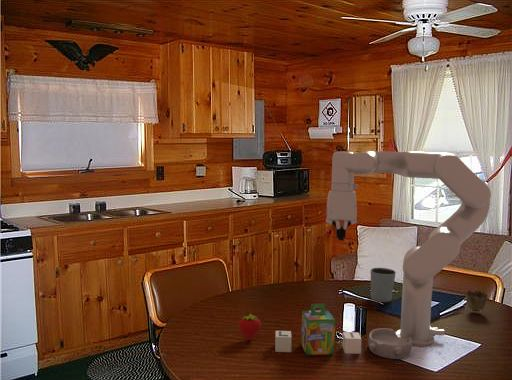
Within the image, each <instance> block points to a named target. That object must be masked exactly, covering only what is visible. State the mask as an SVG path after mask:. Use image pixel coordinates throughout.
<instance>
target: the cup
mask: <svg viewBox="0 0 512 380" xmlns="http://www.w3.org/2000/svg"><path fill="white" fill-rule="evenodd" d="M487 298H488V294H487V292H486V293H484V292H482V291H480V290H478V291H477V290H475V291H473V292H472V290H467V291H466V302H467V306H468V307H469V309H470V313H472V314H474V315H480V314H481V312H482V310H484V308H485V306H486V305H487Z"/></svg>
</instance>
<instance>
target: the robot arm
mask: <svg viewBox="0 0 512 380" xmlns="http://www.w3.org/2000/svg"><path fill="white" fill-rule="evenodd" d="M331 158H332V161H331V162H332V163H331V164H332V165H331V167H332V168H331V190H328V193H327V200H326V209H325V210H326V211H325V213H326V219H325V222H326V223H327V224H330V225H333V226H334V227H335V228H336V229H335V231H336V233H335V237H336V238H337V240H338V241H344V239H345V238H346V232H347V231H346V230H348V229H347V228H348V227H350V225H354V224H357V223H358V220H357V217H358V208H357V207H358V206H357V204H358V202H357V195H356V191H355V189H358V188H359V185H358V184H355V174H358V175H364V176H366V175H369V174H371V173H377V174H378V173H380V174H381V173H382V174H383V173H384V174H393V175H398V176H401V177H404V178H409V179H410V178H411V179H412V178H414V179H433V180H436V179H437V180H440V181H441V182H442V183H443V184H444V185H445V186H446V188H447V189H448V190H449V191H451V192H452V193H453V194H454V195H455V196H456V197H457V198H458V199H459V200H460V201H461V204H460V206H459V207H458V208H457V209H456V210H455V212H454V213H453V214H451V216H450V217H448V218H447V219H446V220H445V221H443V222H442V223H441V224H440V225H438V226H437V227H436V228H435V229H433V230H432V231H431V232H430V234H429V236H428V239H427V240H426V241H425V242H424V243H423V244H421V245H420V246H413V247H412V248H409V249H408V250H407V251H406V253H405V254H404V257H403V263H402V271H403V273H402V274H403V276H402V291H401V311H400V329H398V330H397V331H395V333H396V335H397V336H398V337H399V338H400V339H401V340H403V341H405V340H407V339H408V338H409V337H410V338H411V339H412V346H415V347H416V346H418V347H424V346H430V345H432V344H433V343H434V342H435V336H445V330H444V329H439V328H438V327H431V317H432V311H431V310H432V299H433V298H432V296H433V283H434V280H433V279H434V276H436V275H437V274H438V273H440V272H441V271H442V270H444V269H445V268H446V267H447V266H448V265H450V263H451V262H453V261H454V260H455V259H456V258H457V256H458V255H459V254H460V251H461V245H462V243H464V242H465V241H467V239H468V238H469V237H471V235H473V234H474V233H475V232H476V231H477V230H478V229H479V228H480V227H481V226H482V225H483V223H484V222H485V220H486V219H487V217H488V214H489V211H490V205H491V197H492V196H491V195H492V192H491V188H490V186H489V185H488V184H487V183H486V182H485V181H484V180H483V179H481V178H480V177H478V175H476V173H474V172H473V171H472V170H471V169H470V168H469V167H468V165H466V164H465V162H463V161H462V160H461V158H460V157H459V156H458V155H456V154H454V153H451V152H436V151H435V152H429V151H428V152H427V151H426V152H425V151H383V150H381V151H380V150H365V151H362V152H351V151H343V150H342V151H335V152H333V154H332V157H331ZM340 221H341V222H342V225H340V224H341V223H340Z"/></svg>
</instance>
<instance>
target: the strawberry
mask: <svg viewBox="0 0 512 380" xmlns="http://www.w3.org/2000/svg"><path fill="white" fill-rule="evenodd" d="M261 326H262V323H261V320H260V319H259V317H257V316H256V315H253V314H252V312H250V314H249V315H243V316H242V318H241V319H240V320H239V321H238V328H239V331H240V333H241V334H242V335H243V336H244V338H246V340H247V341H252V340H253V339H254V338H255V336H256V335H257V334H258V333H259V331H260V329H261Z"/></svg>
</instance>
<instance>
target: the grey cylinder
mask: <svg viewBox="0 0 512 380" xmlns="http://www.w3.org/2000/svg"><path fill="white" fill-rule="evenodd" d="M396 274H397V273H396V270H394V269H392V268H391V269H390V268H386V267H373V268H370V298H371V299H372V301H374V302H380V303H388V302H391V301H392V299H393V291H394V287H395V286H394V283H395V279H396Z"/></svg>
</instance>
